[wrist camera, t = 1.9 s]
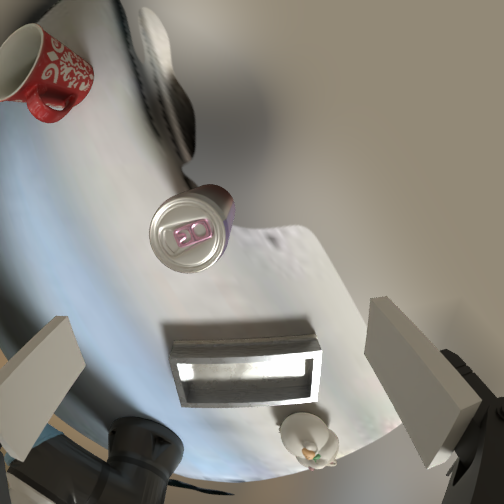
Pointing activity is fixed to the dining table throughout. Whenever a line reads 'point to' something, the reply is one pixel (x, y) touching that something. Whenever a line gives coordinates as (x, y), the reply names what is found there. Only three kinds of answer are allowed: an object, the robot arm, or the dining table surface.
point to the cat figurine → (309, 440)
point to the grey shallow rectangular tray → (246, 371)
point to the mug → (42, 73)
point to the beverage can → (192, 228)
